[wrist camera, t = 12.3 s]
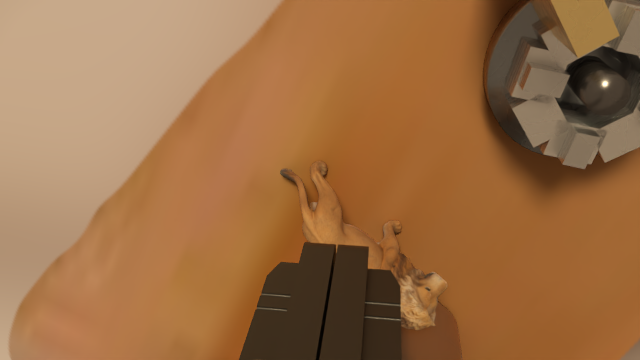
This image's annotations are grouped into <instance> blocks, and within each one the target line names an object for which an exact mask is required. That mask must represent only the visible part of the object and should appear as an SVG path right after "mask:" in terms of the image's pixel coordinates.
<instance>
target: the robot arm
mask: <svg viewBox="0 0 640 360" xmlns="http://www.w3.org/2000/svg"><path fill="white" fill-rule="evenodd" d="M368 257H369V246H355V245H341V244H338V247H337V253H336V244H325V243H311V242H305V243H304V246H303V250H302V253H301V257H300V261H299V263H286V262H280V263H279V264H278V265H277V266H276V267H275V268H274V269H273V270H272V271H271V272H270V273H269V274H268V275H267V278H266V281H265V284H264V287H263V289H262V294H261V296H260V298H259V301H258V304H257V310H255V313H254V316H253V319H252V322H251V325H250V328H249V331H248V334H247V337H246V340H245V343H244V346H243V349H242V352H241V355H240V358H239V360H463V359H462V353H461V346H460V339H459V333H458V327H457V322H456V320H455V319H454V317H453V315H452V314H451V313H450V311H449V310H448V309H447V308H446V307H444V306H443V305H441V304H440V303H439V302H438V303H437V306H436V309H435V312H436V314H435V315H436V316H435V320H434V323H435V325H436V326H429V327H427V328H426V327H425V328H424V329H421V330H415V329H406V328H404V327H402V326H401V307H400V306H401V296H400V285H399V283H398V281H397V280H396V278H395V276H394V275H393V273H392V271H391V270H382V269H368Z"/></svg>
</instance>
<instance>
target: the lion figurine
mask: <svg viewBox="0 0 640 360" xmlns="http://www.w3.org/2000/svg"><path fill="white" fill-rule="evenodd" d="M280 174H281V175H283V176H284V177H286V178H288V179H289V180H291V181H294V182H295V183H296V184H297V186H298V191H299V198H300V207H301V211H302V216H303V219H304V221H303V226H302V230H303V234H304V236H305V237H306V239H307V240H308V242H311V243H325V244H336V253H337V247H338V244H341V245H355V246H369V257H368V269H382V270H391V271H392V273H393V275H394V276H395V278H396V280H397V281H398V283H399V285H400V296H401V306H400V307H401V326H402V327H404V328H406V329H415V330H421V329H424V328H425V327H426V328H427V327H429V326H436V325H435V323H434V320H435V316H436V315H435V314H436V312H435V309H436V306H437V303H438V297H439V295H440V294H441V293H443V292H444V291H445V290H446V289H447V287H448V285H447V282H446V281H445V280H444V279H442V278H441V277H440V276H439V275H438V274H437V273H435V272H431V273H429V274H427V275H424V273H423V272H422V271H421V270H419V269H415V268H414V267H413V265H412V263H411V261H410V259H409V258H407V257H406V256H405V255H403V254H401V253H400V250H399V244H398V240H397V238H396V236H395V234H396V233H399V232H401V228H402V226H401V223H400V221H397V220H392V221H388V222H387V223H386V224H385V225H384V226H383V233H384V238H383V239H382V240H381V241H380V243H379V242H378V243H377V242H375V241H374V240H373V239H372V238H371V237H370V236H369V235H368V234H366V233H365V232H363V231H362V230H360V229H359V228H357V227H355V226H353V225H350V224H345V223H344V222H343V220H342V209H341V206H340V203H339V200H338V198H337V196H336V194H335V192H334V190H333V189H332V188H331V186H330V185H329V184H328V182H327V181H326V180H325V178H324V177H323V175H326V174H327V165H326V164H325V163H324V162H322V161H317V162H315V163H313V165H312V166H311V167H310V176H311V179H312V181H313V182H314V183H315V185H316V187H317V190H318V194H319V200H318V202H312V203H310V208H309V205H308V199H307V194H306V190H305V187H304V184H303V182H302V180H301V179H300V178H299V177H298V176H297V175H296V174H295V173H293V172H292V170H288V169H282V170H281V171H280Z"/></svg>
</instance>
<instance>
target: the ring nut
mask: <svg viewBox="0 0 640 360" xmlns="http://www.w3.org/2000/svg"><path fill="white" fill-rule="evenodd" d="M530 1H531V3H532V5H533V7H534V9H535V11H536V13H537V15H538V17H539V19H540V20H538V21H537V22H535V23H533V24H532V25H531V26H532V28H533V30H534V32H535V34H536V36H537V38H538V39H534V38H529V37H524V36H521V38H520V41H519V44H518V46H517V49H516V52H515V54H514V57H513V60H512V62H511V65H510V68H509V70H508V73H507V76H506V78H505V81H504V84H505V86H506V88H507V90H508V91H509V92H508V93H507V94H505V97H506V99H507V101H508V102H509V104H510V106H511V108H512V110H513V112H514V113H515V115H516V117H517V119H518V121H519V122H520V124H521V126H522V128H523V130H524V131H525V133H526V135H527V137H528V139H529V140H530V142H531V144H532V146H533V148H534V147H536V146H539V148H540V150H541V151H542V153H543V154H544V155H549V156H553V157H558V158H559V160H560V162H561V163H562V165H567V166H572V167H577V168H581V169H585V168H586V166H587V164H592V162H593V160H594V158H595V156H596V154H597V153H598V155H599V156H600V157H601V158H602V160H603V161H604V162H608V161H610V160H612V159H614V158H617V157H619V156H621V155H623V154H625V153H628V152H630V151H632V150H634V149H636V148H639V147H640V1H635V0H530ZM601 46H606V47H611V48H613V49H614V50H616V51H619V52H624V53H625V54H626V56H627V58H628V61H629V63H630V65H631V67H632V70H631V72H630V74H629V76H628V78H627V81H628V83H629V84H630V87H631V97H630V99H629V101H628V103H627V104H626V105H625V107H624V108H622V109H621V110H620V111H618V112H616V113H614V114H611V115H606V116H601V115H596V114H594V113H592V112H591V111H590V112H588V113H581V112H576V111H572V110H567V109H562V108H560V107H559V105H558V103H557V101H556V99H555V97H556V98H560V97H561V95H562V93H563V90H564V88H565V86H566V84H567V81H568V79H569V77H570V75H569V74H568V73H567V72H566V71H565V70H566V67H567V65H568V64H570V63H571V62H573V61H575V60H577V59H579V58H581V57H583V56H584V55H586V54H588V53H590V52H592V51H594V50H596V49H597V48H599V47H601Z"/></svg>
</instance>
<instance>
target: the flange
mask: <svg viewBox="0 0 640 360" xmlns="http://www.w3.org/2000/svg"><path fill="white" fill-rule="evenodd" d="M635 1H640V0H635ZM538 20H540V19H539V17H538V15H537V13H536V11H535V9H534V7H533V5H532V3H531V1H530V0H519V1H518V2H517V3H516V4H515V5H514V6H513V7H512V8H511V9H510V10H509V12H508V13H507V14H506V15H505V17H504V18H503V19H502V20H501V22H500V24H499V25H498V27H497V28H496V30H495V32H494V34H493V36H492V38H491V40H490V42H489V45H488V48H487V51H486V55H485V60H484V68H483V81H484V89H485V93H486V97H487V99H488V102H489V104H490V107H491V109H492V111H493V113H494V116H495V118H496V119H497V121H498V123H499V124H500V126H501V127H502V128H503V130H504V131H505V132H506V133H507V134H508V135H509V136H510V137H511V138H512V139H513V140H514V141H516V142H517V143H519V144H520V145H522V146H523V147H525V148H527V149H529V150H531V151H533V152H536V153H539V154H542V155H544V154H543V153H542V151H541V150H540V148H539V146H536V147H534V148H533V146H532V144H531V142H530V140H529V139H528V137H527V135H526V133H525V131H524V130H523V128H522V126H521V124H520V122H519V121H518V119H517V117H516V115H515V113H514V112H513V110H512V108H511V106H510V104H509V102H508V101H507V99H506V97H505V94H507V93H508V92H509V91H508V90H507V88H506V86H505V84H504V81H505V78H506V76H507V73H508V70H509V68H510V65H511V62H512V60H513V57H514V54H515V52H516V49H517V46H518V44H519V41H520V38H521V36H524V37H529V38H534V39H538V38H537V36H536V34H535V32H534V30H533V28H532V26H531V25H532V24H533V23H535V22H537V21H538ZM631 70H632V67H631V65H630V63H629V61H628V58H627V56H626V54H625V53H624V52H619V51H616V50H614V49H613V48H611V47H606V46H601V47H599V48H597V49H596V50H594V51H592V52H590V53H588V54H586V55H584V56H583V57H581V58H579V59H577V60H575V61H573V62H571V63H570V64H568V65H567V67H566V70H565V71H566V72H567V73H568V74H569V75H570V77H569V79H568V81H567V84H566V86H565V88H564V90H563V93H562V95H561V97H560V98H556V97H555V99H556V101H557V103H558V105H559V107H560V108H562V109H567V110H572V111H576V112H581V113H588V112H590V111H591V112H592V113H594V114H596V115H601V116H606V115H611V114H614V113H616V112H618V111H620V110H621V109H622V108H624V107H625V105H626V104H627V103H628V101H629V99H630V97H631V87H630V84H629V83H628V81H627V78H628V76H629V74H630V72H631ZM597 154H598V153H597ZM597 154H596V155H597ZM546 156H549V155H546ZM551 157H553V156H551Z"/></svg>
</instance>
